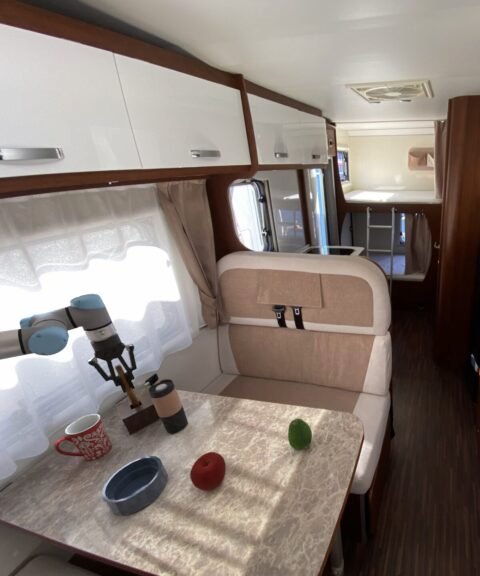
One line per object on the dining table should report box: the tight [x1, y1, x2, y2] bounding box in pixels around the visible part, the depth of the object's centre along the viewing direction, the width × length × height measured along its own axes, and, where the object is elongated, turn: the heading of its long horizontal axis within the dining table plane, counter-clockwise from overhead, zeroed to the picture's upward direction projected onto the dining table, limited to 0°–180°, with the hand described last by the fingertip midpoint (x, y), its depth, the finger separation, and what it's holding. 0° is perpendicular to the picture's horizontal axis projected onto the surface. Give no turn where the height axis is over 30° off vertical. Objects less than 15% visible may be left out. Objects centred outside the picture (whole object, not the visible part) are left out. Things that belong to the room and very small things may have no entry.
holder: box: [116, 391, 161, 436], centre depth 119 cm, size 10×10×8 cm
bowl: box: [101, 455, 169, 516], centre depth 93 cm, size 15×15×6 cm
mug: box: [54, 413, 112, 461], centre depth 104 cm, size 13×9×14 cm
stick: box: [114, 363, 140, 408], centre depth 116 cm, size 2×2×22 cm
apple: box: [189, 451, 227, 491], centre depth 94 cm, size 10×10×10 cm
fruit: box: [287, 418, 313, 451], centre depth 104 cm, size 8×8×12 cm
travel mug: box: [147, 378, 189, 435], centre depth 113 cm, size 8×8×20 cm
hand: (128, 389), depth 115 cm, fingers closed on stick, 2 cm apart
